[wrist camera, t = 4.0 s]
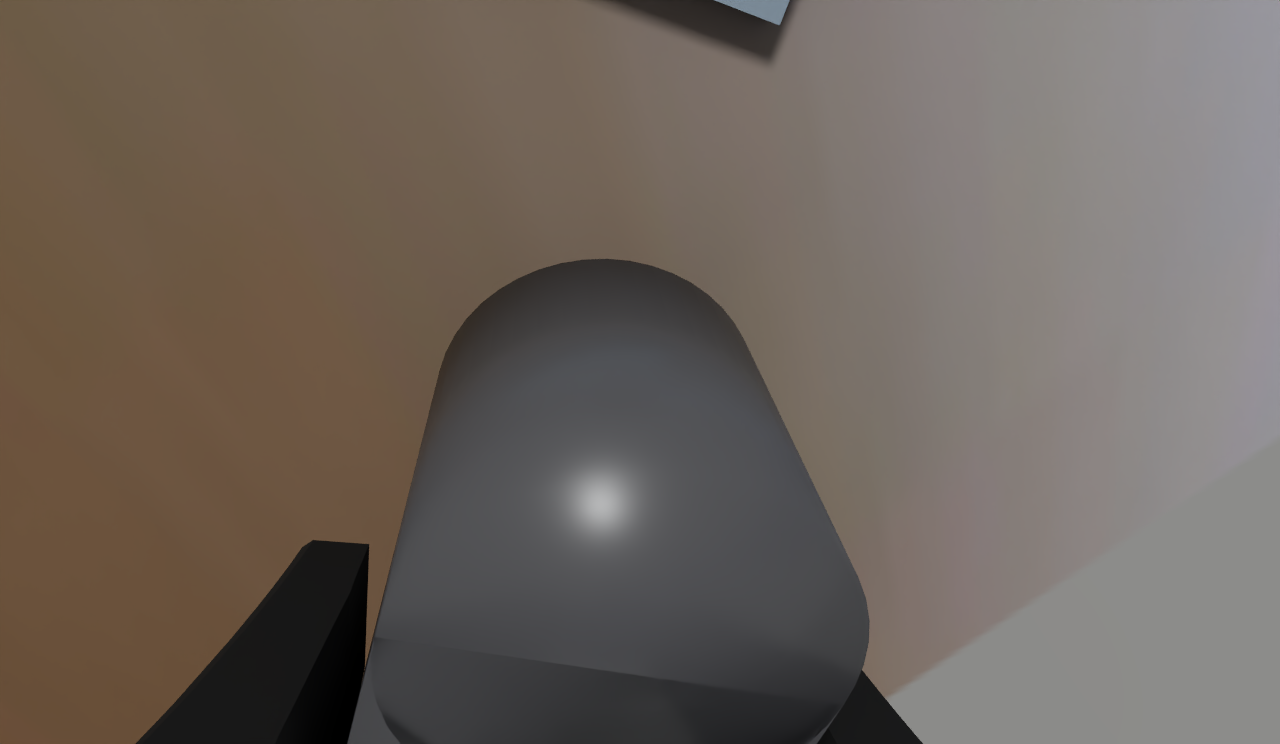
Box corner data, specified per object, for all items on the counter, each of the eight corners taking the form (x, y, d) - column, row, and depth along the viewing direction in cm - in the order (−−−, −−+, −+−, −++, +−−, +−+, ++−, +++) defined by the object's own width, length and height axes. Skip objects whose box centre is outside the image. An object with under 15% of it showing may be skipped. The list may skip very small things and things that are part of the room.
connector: (806, 309, 9) (961, 535, 6) (573, 791, 14) (582, 1083, 10) (478, 216, 8) (428, 419, 5) (339, 767, 13) (261, 1082, 9)
